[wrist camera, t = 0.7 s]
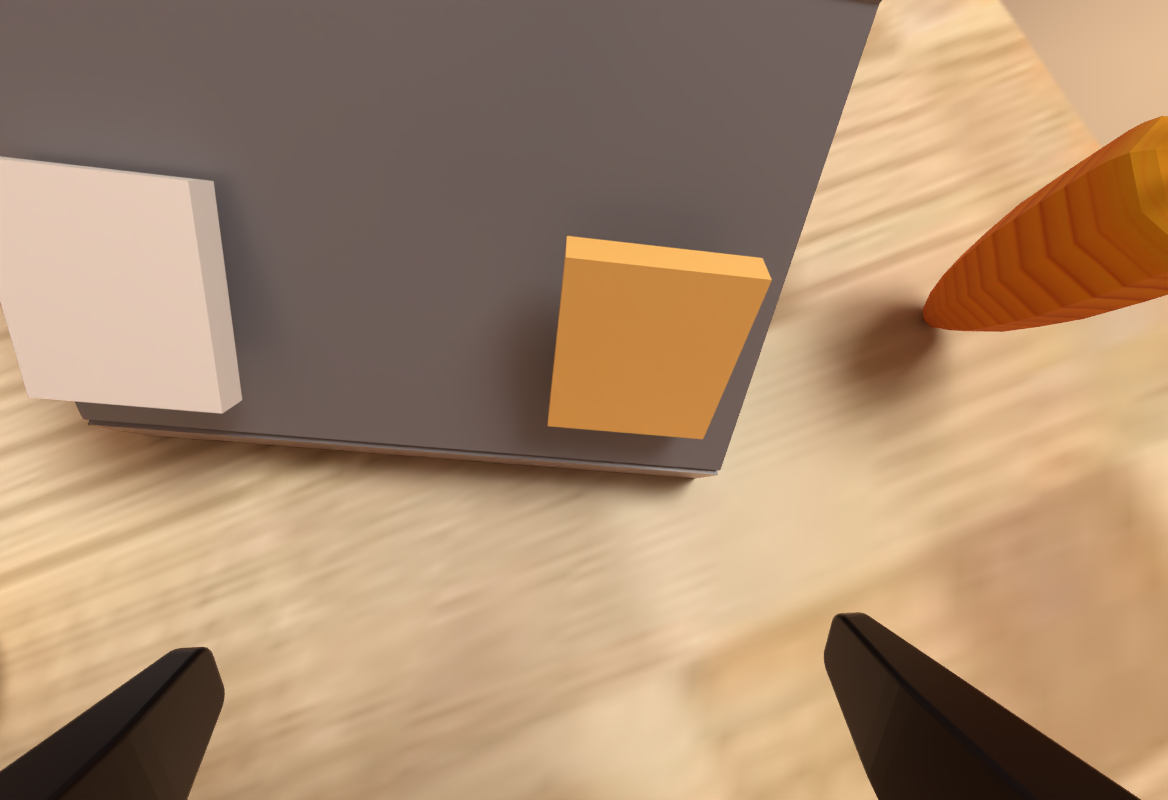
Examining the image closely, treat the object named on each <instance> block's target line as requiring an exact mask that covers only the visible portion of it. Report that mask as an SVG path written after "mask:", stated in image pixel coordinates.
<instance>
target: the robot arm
mask: <svg viewBox="0 0 1168 800" xmlns="http://www.w3.org/2000/svg"><path fill="white" fill-rule="evenodd" d="M824 663H825V668H826V671H827V674H828V676H829V679H830V681H831V684H832V687H833V689H834V692H835V694H836V697H837V700H838V702H839V705H840V707H841V710H842V713H843V715H844V718H845V720H846V723H847V726H848V728H849V731H850V733H851V736H852V739H853V741H854V744H855V746H856V749H857V752H858V754H859V757H860V759H861V762H862V764H863V767H864V769H865V772H866V774H867V776H868V779H869V781H870V783H871V785H872V787H873V789H874V792H875V794H876V796H877V798H878V800H1141V799H1139V798H1138V797H1136V796H1135V795H1133V794H1132V793H1130V792H1129V791H1127V790H1126V789H1124V788H1123V787H1122V786H1120V785H1119V784H1117V783H1116V782H1114V781H1113V780H1111V779H1110V778H1108V777H1107V776H1105V775H1104V774H1102V773H1101V772H1099V771H1098V770H1096V769H1095V768H1093V767H1092V766H1090V765H1089V764H1087V763H1086V762H1084V761H1083V760H1081V759H1080V758H1079V757H1077V756H1076V755H1074V754H1073V753H1071V752H1070V751H1068V750H1067V749H1065V748H1064V747H1062V746H1061V745H1059V744H1058V743H1056V742H1055V741H1053V740H1052V739H1050V738H1049V737H1047V736H1046V735H1044V734H1043V733H1041V732H1040V731H1039V730H1037V729H1036V728H1034V727H1033V726H1031V725H1030V724H1028V723H1027V722H1025V721H1024V720H1022V719H1021V718H1019V717H1018V716H1016V715H1015V714H1013V713H1012V712H1010V711H1009V710H1007V709H1006V708H1004V707H1003V706H1001V705H1000V704H999V703H997V702H996V701H994V700H993V699H991V698H990V697H988V696H987V695H985V694H984V693H982V692H981V691H979V690H978V689H976V688H975V687H973V686H972V685H970V684H969V683H967V682H966V681H964V680H963V679H961V678H960V677H958V676H957V675H956V674H954V673H953V672H951V671H950V670H948V669H947V668H945V667H944V666H942V665H941V664H939V663H938V662H936V661H935V660H933V659H932V658H930V657H929V656H927V655H926V654H924V653H923V652H921V651H920V650H918V649H917V648H916V647H914V646H913V645H911V644H910V643H908V642H907V641H905V640H904V639H902V638H901V637H899V636H898V635H896V634H895V633H893V632H892V631H890V630H889V629H887V628H886V627H884V626H883V625H881V624H880V623H878V622H877V621H876V620H874V619H873V618H871V617H870V616H868V615H866V614H864V613H859V612H856V613H839V614H837V615H836V616H835V617H834V618H833V620H832V623H831V627H830V631H829V635H828V639H827V642H826V646H825V650H824ZM224 695H225V692H224V685H223V682H222V679H221V677H220V674H219V671H218V668H217V665H216V662H215V659H214V656H213V654H212V652H211V651H210V650H209V649H208V648H206V647H192V648H178V649H175V650H172V651H170V652H169V653H167V654H166V655H164V656H163V657H161V658H160V659H159V660H157V661H156V662H154V663H153V664H151V665H150V666H149V667H147V668H146V669H144V670H143V671H142V672H140V673H139V674H137V675H136V676H134V677H133V678H132V679H130V680H129V681H127V682H126V683H125V684H123V685H122V686H120V687H119V688H118V689H116V690H115V691H113V692H112V693H110V694H109V695H108V696H106V697H105V698H103V699H102V700H101V701H99V702H98V703H96V704H95V705H93V706H92V707H91V708H89V709H88V710H86V711H85V712H84V713H82V714H81V715H79V716H78V717H76V718H75V719H74V720H72V721H71V722H69V723H68V724H67V725H65V726H64V727H62V728H61V729H59V730H58V731H57V732H55V733H54V734H52V735H51V736H50V737H48V738H47V739H45V740H44V741H43V742H41V743H40V744H38V745H37V746H35V747H34V748H33V749H31V750H30V751H28V752H27V753H26V754H24V755H23V756H21V757H20V758H18V759H17V760H16V761H14V762H13V763H11V764H10V765H9V766H7V767H6V768H4V769H3V770H1V771H0V800H187V798H188V796H189V793H190V791H191V788H192V785H193V783H194V780H195V777H196V775H197V772H198V770H199V767H200V764H201V762H202V759H203V756H204V754H205V751H206V749H207V746H208V743H209V741H210V738H211V735H212V733H213V730H214V728H215V725H216V722H217V720H218V717H219V714H220V712H221V709H222V706H223V702H224Z"/></svg>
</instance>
